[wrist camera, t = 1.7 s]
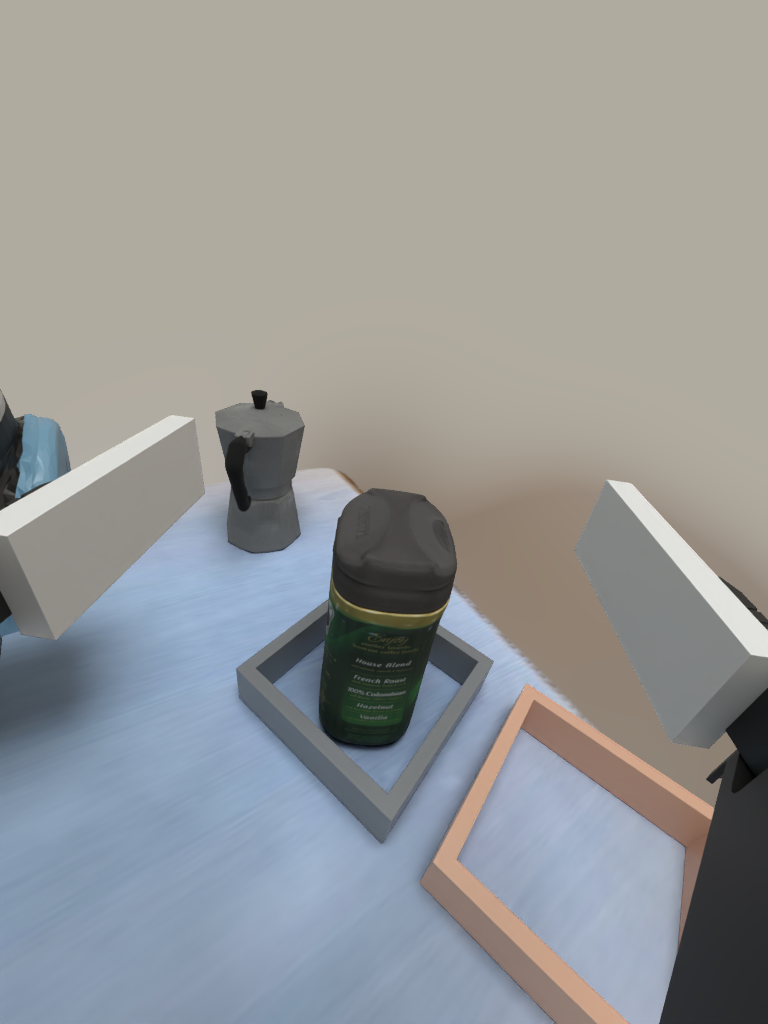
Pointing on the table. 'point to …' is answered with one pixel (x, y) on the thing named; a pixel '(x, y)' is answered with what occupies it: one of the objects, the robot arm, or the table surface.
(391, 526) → the coffee jar
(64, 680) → the table surface
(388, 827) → the charcoal bin
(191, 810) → the table surface
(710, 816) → the terracotta bin
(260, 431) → the coffeepot
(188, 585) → the table surface
